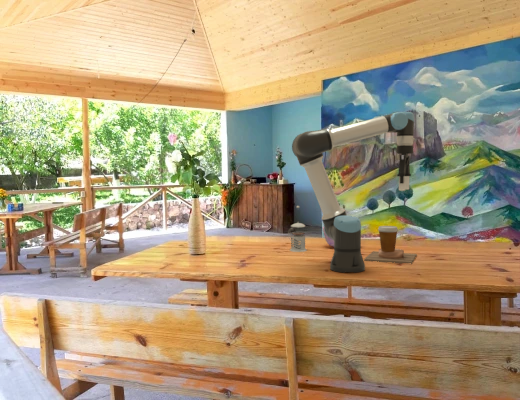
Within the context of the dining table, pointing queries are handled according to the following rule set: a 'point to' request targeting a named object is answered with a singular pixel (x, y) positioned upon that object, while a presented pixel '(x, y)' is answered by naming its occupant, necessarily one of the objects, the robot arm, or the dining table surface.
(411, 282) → the dining table surface
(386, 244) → the disposable coffee cup
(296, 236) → the french press
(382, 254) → the pedestal
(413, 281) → the dining table surface
